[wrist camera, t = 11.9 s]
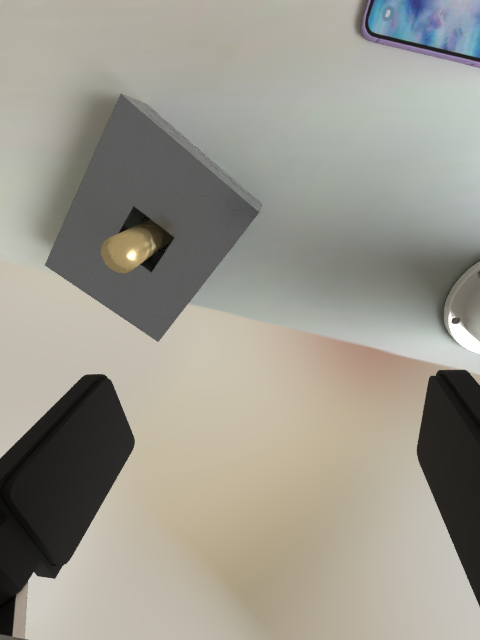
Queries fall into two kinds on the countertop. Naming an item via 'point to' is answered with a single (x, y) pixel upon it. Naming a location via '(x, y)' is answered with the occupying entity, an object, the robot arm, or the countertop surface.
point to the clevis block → (161, 207)
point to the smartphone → (426, 27)
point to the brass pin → (134, 246)
